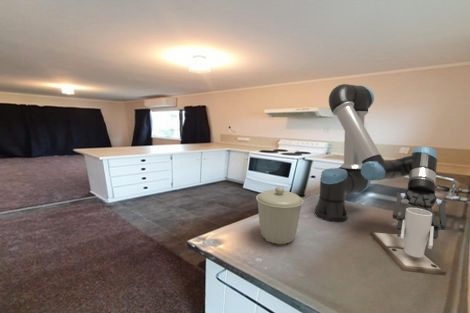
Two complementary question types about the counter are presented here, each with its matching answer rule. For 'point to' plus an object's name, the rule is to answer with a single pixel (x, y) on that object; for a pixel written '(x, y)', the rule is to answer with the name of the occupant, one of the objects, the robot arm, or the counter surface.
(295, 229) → the canister
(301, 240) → the counter surface
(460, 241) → the counter surface
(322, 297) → the counter surface
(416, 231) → the white cup
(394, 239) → the coaster board
